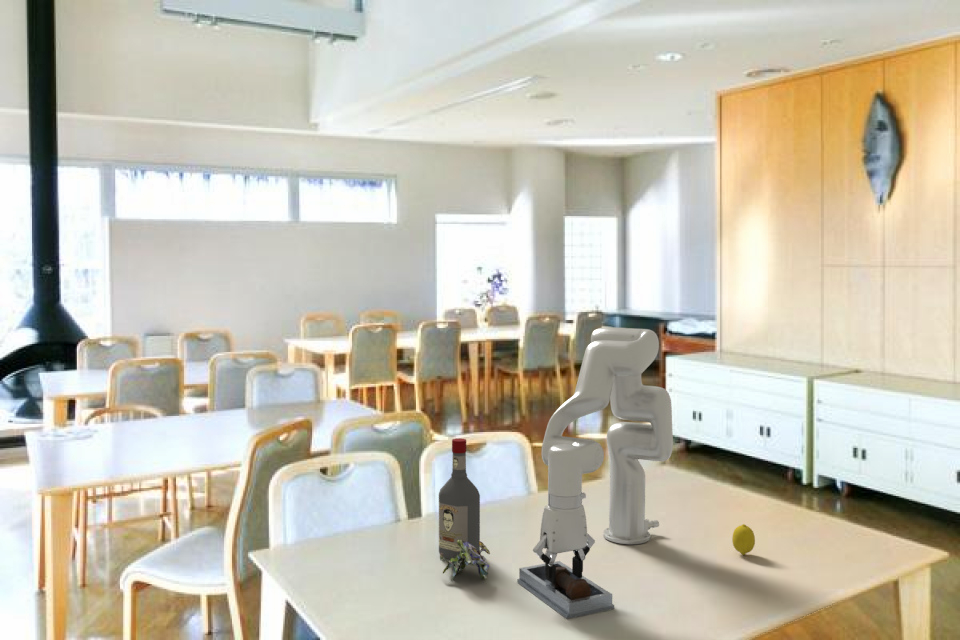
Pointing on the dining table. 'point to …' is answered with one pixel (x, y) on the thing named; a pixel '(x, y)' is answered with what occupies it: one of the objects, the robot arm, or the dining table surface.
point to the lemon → (743, 539)
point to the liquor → (458, 507)
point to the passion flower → (468, 559)
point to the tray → (564, 593)
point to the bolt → (571, 584)
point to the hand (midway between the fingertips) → (564, 577)
